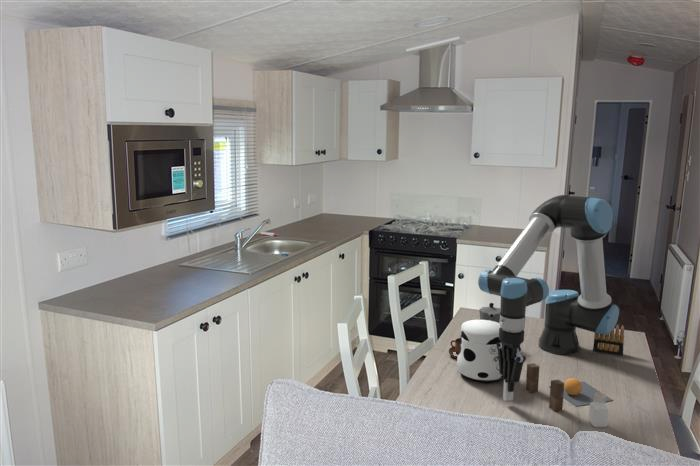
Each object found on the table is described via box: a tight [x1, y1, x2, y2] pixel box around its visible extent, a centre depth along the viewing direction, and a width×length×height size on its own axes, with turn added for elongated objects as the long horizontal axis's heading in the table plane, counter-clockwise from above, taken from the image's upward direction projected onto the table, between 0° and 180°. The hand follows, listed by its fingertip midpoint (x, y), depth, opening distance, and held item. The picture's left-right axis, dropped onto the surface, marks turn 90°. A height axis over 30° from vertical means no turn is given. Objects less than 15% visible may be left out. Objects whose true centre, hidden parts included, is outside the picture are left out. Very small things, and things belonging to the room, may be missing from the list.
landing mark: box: [548, 380, 614, 408], centre depth 185 cm, size 14×14×1 cm
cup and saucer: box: [448, 337, 461, 359], centre depth 215 cm, size 12×12×6 cm
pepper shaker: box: [588, 392, 609, 428], centre depth 165 cm, size 4×4×10 cm
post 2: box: [548, 379, 565, 412], centre depth 174 cm, size 3×3×9 cm
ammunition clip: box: [592, 324, 625, 356], centre depth 218 cm, size 11×2×12 cm, turn 65°
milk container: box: [456, 319, 503, 383], centre depth 198 cm, size 17×17×18 cm
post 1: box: [525, 362, 540, 394], centre depth 187 cm, size 3×3×9 cm
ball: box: [564, 377, 582, 395], centre depth 184 cm, size 6×6×6 cm
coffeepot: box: [478, 302, 500, 323], centre depth 225 cm, size 15×9×18 cm, turn 167°
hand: (507, 399), depth 177 cm, fingers closed
